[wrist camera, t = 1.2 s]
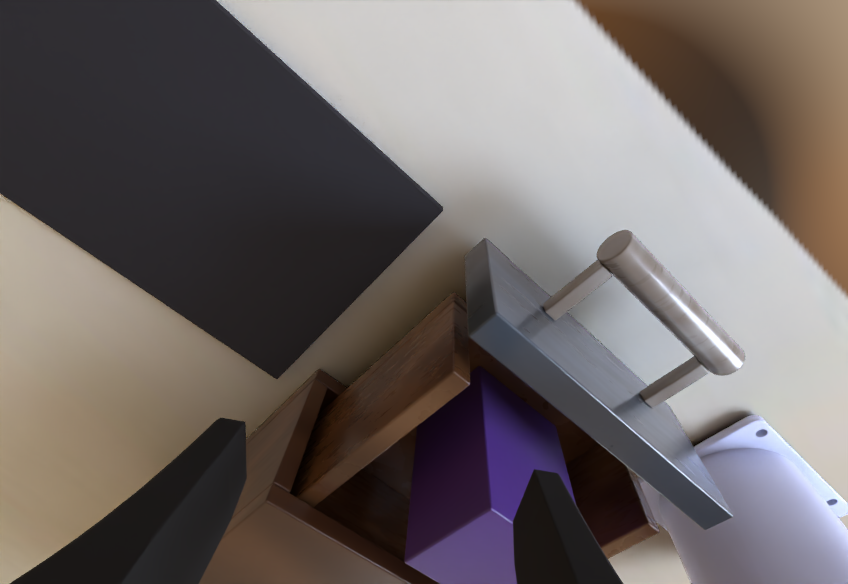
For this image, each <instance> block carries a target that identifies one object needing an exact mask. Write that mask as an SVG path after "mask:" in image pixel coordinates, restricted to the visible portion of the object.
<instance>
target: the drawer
mask: <svg viewBox="0 0 848 584" xmlns="http://www.w3.org/2000/svg"><path fill="white" fill-rule="evenodd" d="M597 259H598V260H597V261H595V262H594V263H593V264H592V265H591V266H589V267H588V268H587V269H586V270H584V271H583V272H582V273H581V274H579V275H578V276H577V277H576V278H574V279H573V280H572V281H571V282H569V283H568V284H567V285H566V286H564V287H563V288H562V289H561V290H560V291H558V292H557V293H556V294H555V295H553V296H552V297H550V296H549V295H548V294H547V293H546V292H545V291H544V290H542V289H541V288H540V287H539V286H538V285H537V284H536V283H535V282H534V281H533V280H532V279H530V278H529V277H528V276H527V275H526V274H525V273H524V272H523V271H522V270H521V269H520V268H518V267H517V266H516V265H515V264H514V263H513V262H512V261H511V260H510V259H509V258H508V257H507V256H505V255H504V254H503V253H502V252H501V251H500V250H499V249H498V248H497V247H496V246H495V245H493V244H492V243H491V242H490V241H489V240H488V239H487V238H483V239H482V240H481V241H480V242H479V243H478V244H477V245H476V246H475V247H474V248H473V249H472V250H471V251H470V252H469V253H467V254H466V255H465V278H466V299H467V303H466V302H465V301H464V300H463V299H462V298H460V297H459V296H458V295H457V294H456V293H454V292H453V293H452V294H451V295H449V296H448V297H447V298H446V299H445V300H444V301H443V302H442V303H441V304H440V305H438V306H437V307H436V308H435V309H434V310H433V311H432V312H431V313H430V314H429V315H427V316H426V317H425V318H424V319H423V320H422V321H421V322H420V323H419V324H418V325H416V326H415V327H414V328H413V329H412V330H411V331H410V332H409V333H408V334H406V335H405V336H404V337H403V338H402V339H401V340H400V341H399V342H398V343H397V344H395V345H394V346H393V347H392V348H391V349H390V350H389V351H388V352H387V353H386V354H384V355H383V356H382V357H381V358H380V359H379V360H378V361H377V362H376V363H375V364H373V365H372V366H371V367H370V368H369V369H368V370H367V371H366V372H365V373H363V374H362V375H361V376H360V377H359V378H358V379H357V380H356V381H355V382H354V383H352V384H351V385H350V386H349V387H348V388H347V389H346V390H345V391H344V392H343V393H341V394H340V395H339V396H338V397H337V398H336V399H335V400H334V401H333V402H332V403H330V404H329V405H328V406H327V407H326V408H325V409H324V410H323V411H322V412H320V413H319V414H318V416H317V419H316V422H315V424H314V427H313V430H312V433H311V436H310V438H309V441H308V444H307V447H306V450H305V452H304V455H303V458H302V461H301V464H300V466H299V469H298V472H297V475H296V477H295V480H294V483H293V486H292V489H291V491H290V494H292V495H293V496H295V497H297V498H298V499H300V500H302V501H303V502H305V503H307V504H308V505H310V506H312V507H314V508H315V509H317V510H319V511H320V512H322V513H324V514H325V515H327V516H329V517H330V518H332V519H334V520H335V521H337V522H339V523H340V524H342V525H344V526H346V527H347V528H349V529H351V530H352V531H354V532H356V533H357V534H359V535H361V536H362V537H364V538H366V539H367V540H369V541H371V542H372V543H374V544H376V545H377V546H379V547H381V548H383V549H384V550H386V551H388V552H389V553H391V554H393V555H394V556H396V557H398V558H399V559H401V560H403V561H404V560H405V549H406V539H407V528H408V517H409V507H410V496H411V486H412V475H413V464H414V454H415V443H416V432H417V426H418V425H419V424H421V423H422V422H423V421H424V420H426V419H427V418H428V417H430V416H431V415H432V414H433V413H435V412H436V411H437V410H439V409H440V408H441V407H442V406H444V405H445V404H446V403H448V402H449V401H450V400H451V399H453V398H454V397H455V396H456V395H458V394H459V393H460V392H462V391H463V390H464V389H465V388H467V387H468V386H469V385H470V373H471V372H472V371H473V370H475V369H476V368H477V367H478V366H481V367H482V368H484V369H485V370H486V371H487V372H489V373H490V374H491V375H492V376H494V377H495V378H496V379H497V380H499V381H500V382H501V383H502V384H503V385H505V386H506V387H507V388H508V389H510V390H511V391H512V392H513V393H515V394H516V395H517V396H518V397H520V398H521V399H522V400H523V401H525V402H526V403H527V404H528V405H530V406H531V407H532V408H533V409H535V410H536V411H537V412H538V413H540V414H541V415H542V416H543V417H545V418H546V419H547V420H548V421H550V422H551V423H552V424H553V425H555V426H556V429H557V433H558V437H559V441H560V445H561V449H562V452H563V456H564V460H565V464H566V468H567V472H568V475H569V479H570V483H571V487H572V491H573V495H574V498H575V502H576V506H577V508H578V509H579V511H580V513H581V515H582V516H583V518H584V520H585V522H586V523H587V525H588V527H589V529H590V530H591V532H592V534H593V536H594V537H595V539H596V541H597V542H598V544H599V546H600V547H601V549H602V551H603V552H604V554H605V556H606V557H607V559H608V558H610V557H612V556H614V555H616V554H618V553H620V552H622V551H624V550H626V549H628V548H630V547H632V546H634V545H636V544H638V543H640V542H642V541H644V540H646V539H648V538H650V537H652V536H654V535H656V534H658V533H659V528H658V526H657V524H656V521H655V519H654V516H653V514H652V512H651V509H650V507H649V504H648V502H647V500H646V497H645V495H644V492H643V490H642V488H641V485H640V483H639V480H638V478H637V476H636V474H637V475H638V476H639V477H640V478H642V479H643V480H644V481H645V482H646V483H648V484H649V485H650V486H651V487H652V488H654V489H655V490H656V491H657V492H659V493H660V494H661V495H662V496H663V497H665V498H666V499H667V500H668V501H670V502H671V503H672V504H673V505H674V506H676V507H677V508H678V509H679V510H681V511H682V512H683V513H684V514H685V515H687V516H688V517H689V518H690V519H692V520H693V521H694V522H695V523H696V524H698V525H699V526H700V527H701V528H703V529H704V530H707V529H709V528H711V527H713V526H716V525H718V524H720V523H722V522H724V521H726V520H728V519H730V518H732V517H733V514H732V512H731V511H730V509H729V507H728V505H727V504H726V502H725V500H724V499H723V497H722V495H721V493H720V492H719V490H718V488H717V487H716V485H715V483H714V481H713V480H712V478H711V476H710V474H709V473H708V471H707V469H706V468H705V466H704V464H703V462H702V461H701V459H700V457H699V456H698V454H697V452H696V450H695V449H694V447H693V445H692V444H691V442H690V440H689V438H688V437H687V435H686V433H685V432H684V430H683V428H682V426H681V425H680V423H679V421H678V420H677V418H676V416H675V414H674V413H673V411H672V409H671V408H670V406H669V405H668V404H667V403H666V402H664V401H665V400H667V399H668V398H670V397H671V396H673V395H675V394H676V393H678V392H679V391H681V390H683V389H684V388H686V387H688V386H689V385H691V384H692V383H694V382H696V381H697V380H699V379H700V378H702V377H704V376H705V375H707V374H708V373H709V371H710V372H711V373H713V374H716V375H721V376H723V375H729V374H732V373H734V372H736V371H737V370H738V369H739V368H740V367H741V366H742V365H743V363H744V361H745V353H744V351H743V350H742V348H741V347H740V346H739V345H738V344H737V343H736V342H735V341H734V340H733V339H732V338H731V337H730V336H729V335H728V334H727V333H726V331H725V330H724V329H723V328H722V327H721V326H720V325H719V324H718V323H717V322H716V321H715V320H714V319H713V318H712V317H711V316H710V315H709V314H708V312H707V311H706V310H705V309H704V308H703V307H702V306H701V305H700V304H699V303H698V302H697V301H696V300H695V299H694V298H693V297H692V296H691V295H690V293H689V292H688V291H687V290H686V289H685V288H684V287H683V286H682V285H681V284H680V283H679V282H678V281H677V280H676V279H675V278H674V277H673V275H672V274H671V273H670V272H669V271H668V270H667V269H666V268H665V267H664V266H663V265H662V264H661V263H660V262H659V261H658V260H657V259H656V258H655V256H654V255H653V254H652V253H651V252H650V251H649V250H648V249H647V248H646V247H645V246H644V245H643V244H642V243H641V242H640V241H639V240H638V238H637V237H636V236H635V235H634V234H633V233H632V232H631V231H628V230H622V231H619V232H616V233H614V234H613V235H611V236H610V237H609V238H607V239H606V240H605V241H604V242H603V243H602V245H601V246H600V247H599V249H598V251H597ZM610 272H611V273H612V274H613V275H614V276H615V277H616V278H617V279H618V280H619V281H620V282H621V283H622V284H623V285H624V286H625V287H626V288H627V289H628V290H629V291H630V292H631V293H632V294H633V295H634V296H635V297H636V298H637V299H638V300H639V301H640V302H641V303H642V304H643V305H644V306H645V307H646V308H647V309H648V310H649V311H650V312H651V313H652V314H653V315H654V316H655V317H656V318H657V319H658V320H659V321H660V322H661V323H662V324H663V325H664V326H665V327H666V328H667V329H668V330H669V331H670V332H671V333H672V334H673V335H674V336H675V337H676V338H677V339H678V340H679V341H680V342H681V343H682V344H683V345H684V346H685V347H686V348H687V349H688V350H689V351H690V352H691V353H692V354H693V355H694V357H692V358H691V359H689V360H688V361H686V362H685V363H683V364H681V365H680V366H678V367H677V368H675V369H674V370H672V371H671V372H669V373H668V374H666V375H664V376H663V377H661V378H660V379H658V380H657V381H655V382H654V383H652V384H651V385H649V386H647V385H646V384H645V383H644V382H643V381H642V380H640V379H639V378H638V377H637V376H636V375H635V374H634V373H633V372H632V371H631V370H630V369H628V368H627V367H626V366H625V365H624V364H623V363H622V362H621V361H620V360H619V359H618V358H616V357H615V356H614V355H613V354H612V353H611V352H610V351H609V350H608V349H607V348H606V347H605V346H603V345H602V344H601V343H600V342H599V341H598V340H597V339H596V338H595V337H594V336H593V335H591V334H590V333H589V332H588V331H587V330H586V329H585V328H584V327H583V326H582V325H581V324H579V323H578V322H577V321H576V320H575V319H574V318H573V317H572V316H571V315H570V314H569V313H567V311H569V310H570V309H571V308H572V307H574V306H575V305H576V304H578V303H579V302H580V301H581V300H583V299H584V298H585V297H587V296H588V295H589V294H590V293H592V292H593V291H594V290H596V289H597V288H598V287H599V286H601V285H602V284H603V283H605V282H606V281H607V280H608V279H610V278H611V277H612V274H611V273H610ZM708 370H709V371H708ZM404 562H405V561H404Z"/></svg>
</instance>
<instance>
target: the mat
mask: <svg viewBox="0 0 848 584" xmlns="http://www.w3.org/2000/svg"><path fill="white" fill-rule="evenodd" d="M0 193H1V194H2V195H3V196H5V197H6V198H8V199H9V200H11V201H12V202H14V203H15V204H17V205H18V206H20V207H21V208H23V209H24V210H26V211H27V212H29V213H30V214H32V215H33V216H35V217H36V218H38V219H39V220H41V221H42V222H44V223H45V224H47V225H48V226H50V227H51V228H53V229H54V230H56V231H57V232H59V233H60V234H61V235H63V236H64V237H66V238H67V239H69V240H70V241H72V242H73V243H75V244H76V245H78V246H79V247H81V248H82V249H84V250H85V251H87V252H88V253H90V254H91V255H93V256H94V257H96V258H97V259H99V260H100V261H102V262H103V263H105V264H106V265H108V266H109V267H111V268H112V269H114V270H115V271H117V272H118V273H119V274H121V275H122V276H124V277H125V278H127V279H128V280H130V281H131V282H133V283H134V284H136V285H137V286H139V287H140V288H142V289H143V290H145V291H146V292H148V293H149V294H151V295H152V296H154V297H155V298H157V299H158V300H160V301H161V302H163V303H164V304H166V305H167V306H169V307H170V308H172V309H173V310H175V311H176V312H177V313H179V314H180V315H182V316H183V317H185V318H186V319H188V320H189V321H191V322H192V323H194V324H195V325H197V326H198V327H200V328H201V329H203V330H204V331H206V332H207V333H209V334H210V335H212V336H213V337H215V338H216V339H218V340H219V341H221V342H222V343H224V344H225V345H227V346H228V347H230V348H231V349H233V350H234V351H235V352H237V353H238V354H240V355H241V356H243V357H244V358H246V359H247V360H249V361H250V362H252V363H253V364H255V365H256V366H258V367H259V368H261V369H262V370H264V371H265V372H267V373H268V374H270V375H271V376H273V377H274V378H276V379H278V378H279V377H280V376H281V375H282V374H283V373H284V372H285V371H286V370H287V369H288V368H289V367H290V366H291V365H292V364H293V363H294V361H295V360H296V359H297V358H298V357H299V356H300V355H301V354H302V353H303V352H304V351H305V350H306V349H307V348H308V347H309V346H310V345H311V344H312V343H313V342H314V341H315V340H316V339H317V338H318V337H319V336H320V335H321V334H322V333H323V332H324V331H325V330H326V329H327V328H328V327H329V326H330V325H331V324H332V323H333V322H334V321H335V320H336V319H337V318H338V317H339V316H340V315H341V314H342V313H343V312H344V311H345V310H346V309H347V308H348V307H349V306H350V305H351V304H352V303H353V302H354V301H355V300H356V298H357V297H358V296H359V295H360V294H361V293H362V292H363V291H364V290H365V289H366V288H367V287H368V286H369V285H370V284H371V283H372V282H373V281H374V280H375V279H376V278H377V277H378V276H379V275H380V274H381V273H382V272H383V271H384V270H385V269H386V268H387V267H388V266H389V265H390V264H391V263H392V262H393V261H394V260H395V259H396V258H397V257H398V256H399V255H400V254H401V253H402V252H403V251H404V250H405V249H406V248H407V247H408V246H409V245H410V244H411V243H412V242H413V241H414V240H415V239H416V238H417V237H418V236H419V234H420V233H421V232H422V231H423V230H424V229H425V228H426V227H427V226H428V225H429V224H430V223H431V222H432V221H433V220H434V219H435V218H436V217H437V216H438V215H439V214H440V213H441V212H442V211H443V207H442V206H441V205H440V204H439V203H438V202H437V201H435V200H434V199H433V198H432V197H431V196H430V195H429V194H428V193H427V192H426V191H424V190H423V189H422V188H421V187H420V186H419V185H418V184H417V183H416V182H415V181H414V180H412V179H411V178H410V177H409V176H408V175H407V174H406V173H405V172H404V171H403V170H401V169H400V168H399V167H398V166H397V165H396V164H395V163H394V162H393V161H392V160H390V159H389V158H388V157H387V156H386V155H385V154H384V153H383V152H382V151H381V150H379V149H378V148H377V147H376V146H375V145H374V144H373V143H372V142H371V141H370V140H368V139H367V138H366V137H365V136H364V135H363V134H362V133H361V132H360V131H359V130H358V129H356V128H355V127H354V126H353V125H352V124H351V123H350V122H349V121H348V120H347V119H345V118H344V117H343V116H342V115H341V114H340V113H339V112H338V111H337V110H336V109H334V108H333V107H332V106H331V105H330V104H329V103H328V102H327V101H326V100H325V99H323V98H322V97H321V96H320V95H319V94H318V93H317V92H316V91H315V90H314V89H312V88H311V87H310V86H309V85H308V84H307V83H306V82H305V81H304V80H303V79H301V78H300V77H299V76H298V75H297V74H296V73H295V72H294V71H293V70H292V69H291V68H289V67H288V66H287V65H286V64H285V63H284V62H283V61H282V60H281V59H280V58H278V57H277V56H276V55H275V54H274V53H273V52H272V51H271V50H270V49H269V48H267V47H266V46H265V45H264V44H263V43H262V42H261V41H260V40H259V39H258V38H256V37H255V36H254V35H253V34H252V33H251V32H250V31H249V30H248V29H247V28H245V27H244V26H243V25H242V24H241V23H240V22H239V21H238V20H237V19H236V18H235V17H233V16H232V15H231V14H230V13H229V12H228V11H227V10H226V9H225V8H224V7H222V6H221V5H220V4H219V3H218V2H217V1H216V0H0Z"/></svg>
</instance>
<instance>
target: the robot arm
mask: <svg viewBox="0 0 848 584" xmlns="http://www.w3.org/2000/svg"><path fill="white" fill-rule="evenodd" d="M758 430H759V431H758ZM694 449H695V450H696V452H697V454H698V456H699V457H700V459H701V461H702V462H703V464H704V466H705V468H706V469H707V471H708V473H709V474H710V476H711V478H712V480H713V481H714V483H715V485H716V487H717V488H718V490H719V492H720V493H721V495H722V497H723V499H724V500H725V502H726V504H727V505H728V507H729V509H730V511H731V512H732V514H733V517H732V518H730V519H728V520H726V521H724V522H722V523H720V524H718V525H716V526H713V527H711V528H709V529H707V530H704V529H703V528H701V527H700V526H699V525H698V524H696V523H695V522H694V521H693V520H692V519H690V518H689V517H688V516H687V515H685V514H684V513H683V512H682V511H681V510H679V509H678V508H677V507H676V506H674V505H673V504H672V503H671V502H670V501H668V500H667V499H666V498H665V497H663V496H662V495H661V494H660V493H659V492H657V491H656V490H655V489H654V488H652V487H651V486H650V485H649V484H648V483H646V482H645V481H644V480H643V479H642V478H640V477H639V478H638V480H639V483H640V485H641V488H642V490H643V492H644V495H645V497H646V500H647V502H648V504H649V507H650V509H651V512H652V514H653V516H654V519H655V521H656V522H657V523H658V524H659V525H661V526H662V527H663V528H664V529H666V530H667V531H668V532H669V534H670V536H671V538H672V541H673V543H674V545H675V547H676V550H677V552H678V554H679V557H680V559H681V561H682V564H683V566H684V568H685V571H686V573H687V575H688V577H689V580H690V582H691V584H848V529H847V528H846V527H845V525H844V524H843V523H842V522H841V520H840V519H839V518H840V517H842V516H845V515H846V514H848V504H847V502H846V501H845V500H844V499H843V498H842V497H841V496H840V495H839V494H838V493H837V492H836V491H835V490H834V489H833V488H832V487H831V486H830V485H829V484H828V483H827V482H826V481H825V480H824V479H823V478H822V477H821V476H820V475H819V474H818V473H817V472H816V471H815V470H814V469H813V468H812V467H811V466H810V465H809V464H808V463H807V462H806V461H805V460H804V459H803V458H802V457H801V456H800V455H799V454H798V453H797V452H796V451H795V450H794V449H793V448H792V447H791V446H790V445H789V444H788V443H787V442H786V441H785V440H784V439H783V438H782V437H781V436H780V435H779V434H778V433H777V432H776V431H775V430H774V429H773V428H772V427H771V426H770V425H769V424H768V423H767V422H766V421H765V420H764V419H763V418H762V417H760V416H759V415H750V416H748V417H746V418H744V419H742V420H740V421H738V422H737V423H735V424H733V425H731V426H730V427H728V428H726V429H724V430H722V431H721V432H719V433H717V434H715V435H714V436H712V437H710V438H708V439H706V440H705V441H703V442H701V443H699V444H698V445H696V446H694ZM246 479H247V469H246V430H245V422H243V421H237V420H231V419H225V418H219V419H218V420H216V421H215V422H214V423H213V424H212V425H211V426H210V427H209V428H208V429H207V430H206V431H204V432H203V433H202V434H201V435H200V436H199V437H198V438H197V439H196V440H195V441H194V442H193V443H192V444H191V445H189V446H188V447H187V448H186V449H185V450H184V451H183V452H182V453H181V454H180V455H178V456H177V457H176V458H175V459H174V460H173V461H172V462H171V463H170V464H168V465H167V466H166V467H165V468H164V469H163V470H161V471H160V472H159V473H158V474H157V475H156V476H155V477H153V478H152V479H151V480H150V481H149V482H148V483H146V484H145V485H144V486H143V487H142V488H141V489H139V490H138V491H137V492H136V493H134V494H133V495H132V496H131V497H129V498H128V499H127V500H126V501H124V502H123V503H122V504H121V505H119V506H118V507H117V508H116V509H114V510H113V511H112V512H111V513H109V514H108V515H107V516H106V517H104V518H103V519H102V520H100V521H99V522H98V523H96V524H95V525H94V526H92V527H91V528H90V529H88V530H87V531H86V532H84V533H83V534H82V535H80V536H79V537H78V538H76V539H75V540H73V541H72V542H71V543H69V544H68V545H66V546H65V547H63V548H62V549H61V550H59V551H58V552H56V553H55V554H54V555H52V556H51V557H49V558H48V559H46V560H45V561H43V562H42V563H40V564H39V565H37V566H36V567H34V568H33V569H31V570H30V571H28V572H27V573H25V574H24V575H22V576H20V577H19V578H17V579H16V580H14V581H13V582H11V583H10V584H199V582H200V580H201V578H202V576H203V574H204V572H205V570H206V568H207V566H208V564H209V563H210V561H211V559H212V557H213V555H214V553H215V551H216V549H217V547H218V545H219V543H220V541H221V539H222V537H223V535H224V533H225V531H226V529H227V527H228V525H229V523H230V521H231V519H232V516H233V513H234V511H235V508H236V506H237V503H238V501H239V498H240V495H241V493H242V490H243V487H244V484H245V482H246ZM513 544H514V565H515V572H516V580H517V584H623V583H622V581H621V580H620V578H619V576H618V575H617V573H616V572H615V570H614V569H613V567H612V565H611V564H610V562H609V560H608V559H607V557H606V556H605V554H604V552H603V551H602V549H601V547H600V546H599V544H598V542H597V541H596V539H595V537H594V536H593V534H592V532H591V530H590V529H589V527H588V525H587V523H586V522H585V520H584V518H583V516H582V515H581V513H580V511H579V509H578V508H577V506H576V504H575V502H574V500H573V498H572V497H571V495H570V493H569V491H568V489H567V488H566V486H565V484H564V482H563V480H562V478H561V477H560V475H559V474H558V473H554V472H548V471H542V470H536V469H534V470H533V473H532V475H531V478H530V480H529V483H528V485H527V488H526V490H525V493H524V495H523V497H522V500H521V502H520V505H519V507H518V510H517V512H516V515H515V517H514V520H513Z"/></svg>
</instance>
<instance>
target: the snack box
mask: <svg viewBox="0 0 848 584" xmlns="http://www.w3.org/2000/svg"><path fill="white" fill-rule="evenodd" d="M534 469H536V470H542V471H548V472H554V473H558V474H559V475H560V477H561V478H562V480H563V482H564V484H565V486H566V488H567V489H568V491H569V493H570V495H571V497H572V498H573V500H574V502H575V498H574V495H573V491H572V487H571V483H570V479H569V475H568V472H567V468H566V464H565V460H564V456H563V452H562V449H561V445H560V441H559V437H558V433H557V429H556V426H555V425H553V424H552V423H551V422H550V421H548V420H547V419H546V418H545V417H543V416H542V415H541V414H540V413H538V412H537V411H536V410H535V409H533V408H532V407H531V406H530V405H528V404H527V403H526V402H525V401H523V400H522V399H521V398H520V397H518V396H517V395H516V394H515V393H513V392H512V391H511V390H510V389H508V388H507V387H506V386H505V385H503V384H502V383H501V382H500V381H499V380H497V379H496V378H495V377H494V376H492V375H491V374H490V373H489V372H487V371H486V370H485V369H484V368H482V367H481V366H478V367H477V368H476V369H475V370H473V371H472V372H471V373H470V385H469V386H468V387H467V388H465V389H464V390H463V391H462V392H460V393H459V394H458V395H456V396H455V397H454V398H453V399H451V400H450V401H449V402H448V403H446V404H445V405H444V406H442V407H441V408H440V409H439V410H437V411H436V412H435V413H433V414H432V415H431V416H430V417H428V418H427V419H426V420H424V421H423V422H422V423H421V424H419V425H418V426H417V432H416V443H415V454H414V464H413V475H412V486H411V496H410V507H409V517H408V528H407V539H406V549H405V560H404V561H405V563H406V564H408V565H409V566H411V567H413V568H414V569H416V570H418V571H419V572H421V573H423V574H425V575H426V576H428V577H430V578H431V579H433V580H435V581H436V582H438V583H440V584H517V580H516V572H515V565H514V544H513V520H514V517H515V515H516V512H517V510H518V507H519V505H520V502H521V500H522V497H523V495H524V493H525V490H526V488H527V485H528V483H529V480H530V478H531V475H532V473H533V470H534ZM575 504H576V502H575Z"/></svg>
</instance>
